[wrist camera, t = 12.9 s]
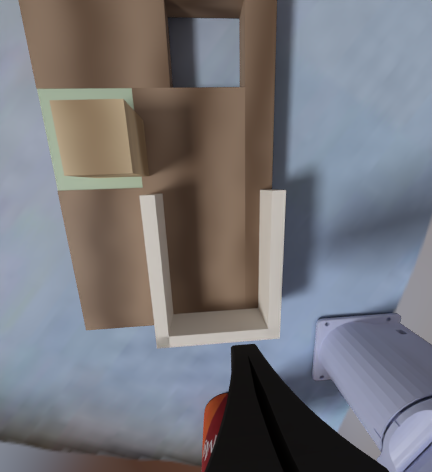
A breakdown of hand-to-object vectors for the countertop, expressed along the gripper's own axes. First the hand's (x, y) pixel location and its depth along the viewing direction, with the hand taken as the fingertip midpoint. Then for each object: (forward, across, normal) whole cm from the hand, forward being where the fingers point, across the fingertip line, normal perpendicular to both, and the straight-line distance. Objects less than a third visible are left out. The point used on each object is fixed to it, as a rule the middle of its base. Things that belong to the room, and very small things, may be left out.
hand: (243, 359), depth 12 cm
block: (+8, +8, -12) cm, 17 cm away
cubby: (+8, +1, -3) cm, 9 cm away
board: (+10, +5, -10) cm, 15 cm away
